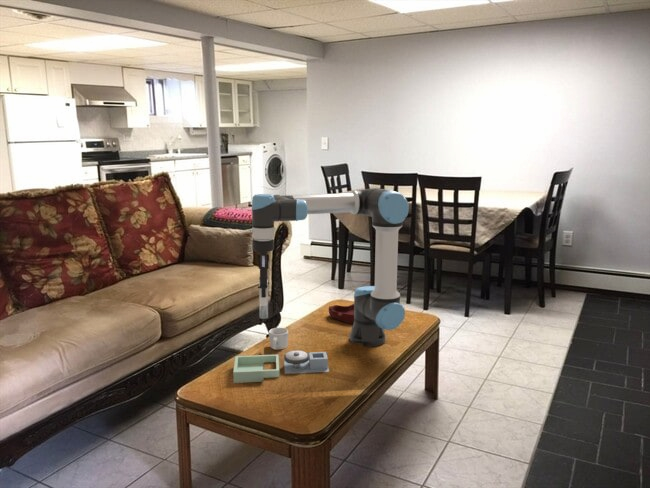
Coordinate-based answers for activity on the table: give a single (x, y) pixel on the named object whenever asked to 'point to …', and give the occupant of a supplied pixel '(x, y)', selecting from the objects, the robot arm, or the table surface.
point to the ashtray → (342, 313)
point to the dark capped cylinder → (263, 309)
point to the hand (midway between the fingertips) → (263, 303)
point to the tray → (254, 368)
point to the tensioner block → (305, 362)
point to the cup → (278, 338)
